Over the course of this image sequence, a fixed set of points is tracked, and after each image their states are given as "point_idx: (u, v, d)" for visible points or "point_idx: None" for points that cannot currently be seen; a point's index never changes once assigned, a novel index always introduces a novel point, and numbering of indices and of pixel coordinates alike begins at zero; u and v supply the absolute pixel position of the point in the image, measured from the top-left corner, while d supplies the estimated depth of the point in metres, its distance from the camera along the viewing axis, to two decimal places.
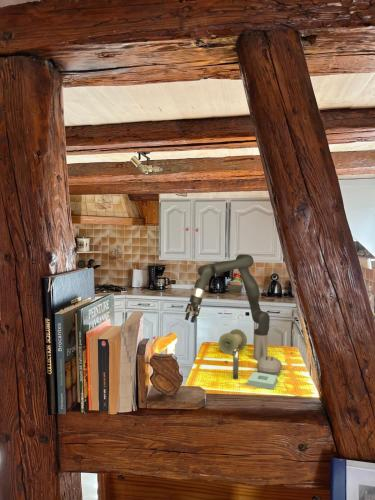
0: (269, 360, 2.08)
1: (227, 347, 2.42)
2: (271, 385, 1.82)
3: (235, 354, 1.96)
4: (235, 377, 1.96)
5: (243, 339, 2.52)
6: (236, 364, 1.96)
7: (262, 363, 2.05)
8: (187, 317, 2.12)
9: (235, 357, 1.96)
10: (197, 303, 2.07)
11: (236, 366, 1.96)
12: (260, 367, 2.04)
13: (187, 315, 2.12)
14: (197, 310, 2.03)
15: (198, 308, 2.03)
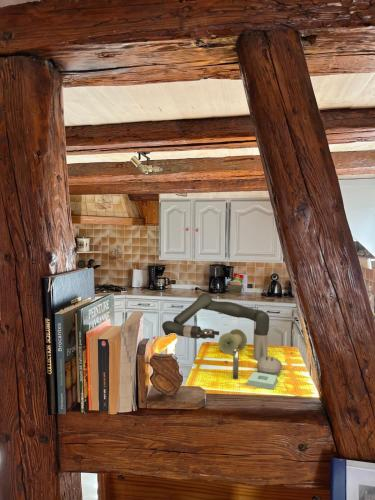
0: (269, 360, 2.07)
1: (227, 347, 2.42)
2: (271, 385, 1.82)
3: (235, 354, 1.96)
4: (235, 377, 1.96)
5: (243, 339, 2.52)
6: (236, 364, 1.96)
7: (262, 363, 2.05)
8: (216, 333, 2.07)
9: (235, 357, 1.96)
10: (196, 334, 2.04)
11: (236, 366, 1.96)
12: (260, 367, 2.04)
13: (214, 333, 2.07)
14: (200, 336, 1.99)
15: (198, 335, 2.00)
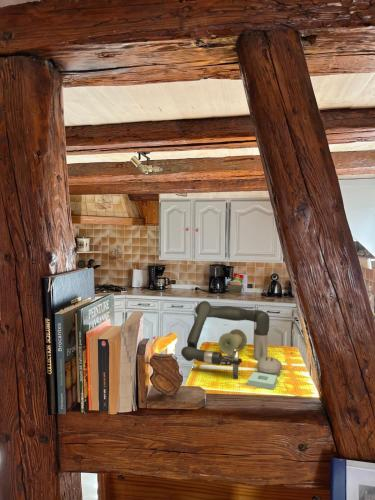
0: (269, 360, 2.07)
1: (227, 347, 2.42)
2: (271, 385, 1.82)
3: (235, 354, 1.96)
4: (235, 377, 1.96)
5: (243, 339, 2.52)
6: None
7: (262, 364, 2.04)
8: None
9: (235, 357, 1.96)
10: (217, 360, 1.98)
11: (236, 366, 1.96)
12: (260, 368, 2.03)
13: None
14: (225, 363, 1.94)
15: (223, 363, 1.94)
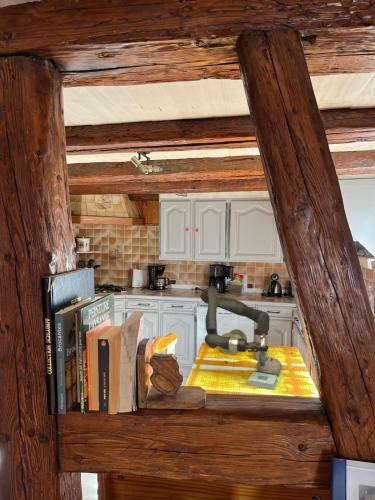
0: (269, 361, 2.06)
1: None
2: (271, 385, 1.82)
3: (262, 341, 1.90)
4: (262, 364, 1.90)
5: None
6: (263, 351, 1.90)
7: None
8: None
9: (262, 344, 1.90)
10: (243, 347, 1.92)
11: (263, 352, 1.90)
12: (260, 368, 2.03)
13: None
14: (252, 350, 1.88)
15: (250, 349, 1.88)
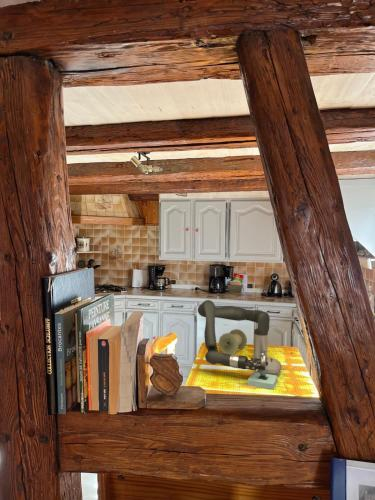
0: (269, 361, 2.06)
1: (227, 347, 2.42)
2: (271, 385, 1.82)
3: (262, 358, 1.90)
4: None
5: (243, 339, 2.52)
6: None
7: None
8: None
9: (262, 361, 1.90)
10: (244, 364, 1.92)
11: (263, 370, 1.90)
12: None
13: None
14: (250, 368, 1.87)
15: (247, 367, 1.88)
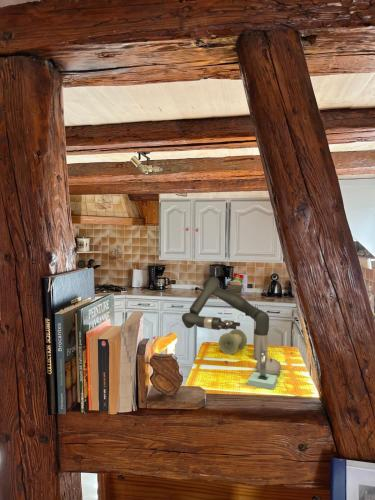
0: (268, 361, 2.05)
1: (227, 347, 2.42)
2: (271, 385, 1.82)
3: (262, 358, 1.90)
4: None
5: (243, 339, 2.52)
6: (263, 368, 1.90)
7: None
8: (237, 324, 2.06)
9: (262, 361, 1.90)
10: (217, 325, 2.03)
11: (263, 370, 1.90)
12: (259, 369, 2.01)
13: (235, 324, 2.06)
14: (222, 327, 1.98)
15: (220, 326, 1.99)
